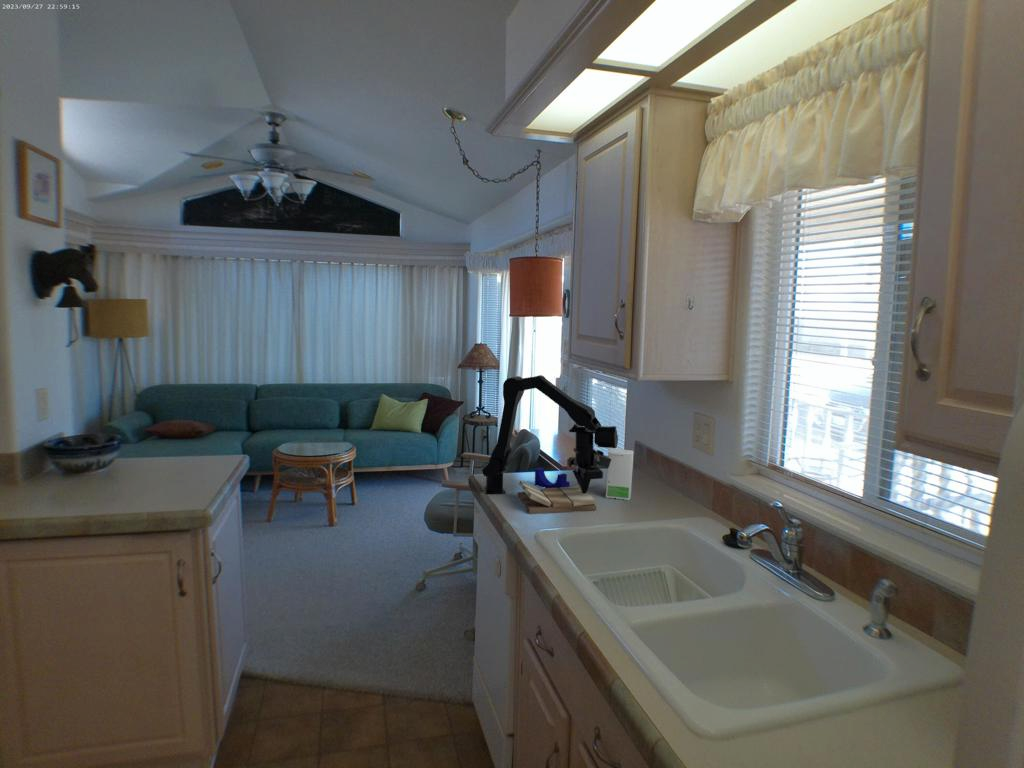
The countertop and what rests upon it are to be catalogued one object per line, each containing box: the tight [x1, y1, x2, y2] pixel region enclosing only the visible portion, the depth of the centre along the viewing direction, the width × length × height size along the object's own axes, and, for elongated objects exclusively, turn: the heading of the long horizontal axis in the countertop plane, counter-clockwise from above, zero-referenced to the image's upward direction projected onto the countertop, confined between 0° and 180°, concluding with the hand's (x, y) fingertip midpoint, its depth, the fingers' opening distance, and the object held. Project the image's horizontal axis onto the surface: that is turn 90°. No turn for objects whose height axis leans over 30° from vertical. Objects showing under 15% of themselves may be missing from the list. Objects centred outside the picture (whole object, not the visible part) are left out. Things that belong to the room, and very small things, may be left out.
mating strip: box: [539, 487, 572, 507], centre depth 193 cm, size 16×6×1 cm, turn 11°
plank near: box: [518, 480, 551, 507], centre depth 191 cm, size 16×7×1 cm, turn 11°
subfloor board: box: [516, 491, 597, 515], centre depth 193 cm, size 18×21×2 cm
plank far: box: [559, 485, 596, 506], centre depth 194 cm, size 16×7×1 cm, turn 11°
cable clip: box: [534, 467, 570, 488], centre depth 210 cm, size 12×4×6 cm, turn 45°
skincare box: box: [605, 448, 634, 501], centre depth 200 cm, size 8×7×16 cm
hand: (584, 493), depth 194 cm, fingers closed, pressing on plank far
